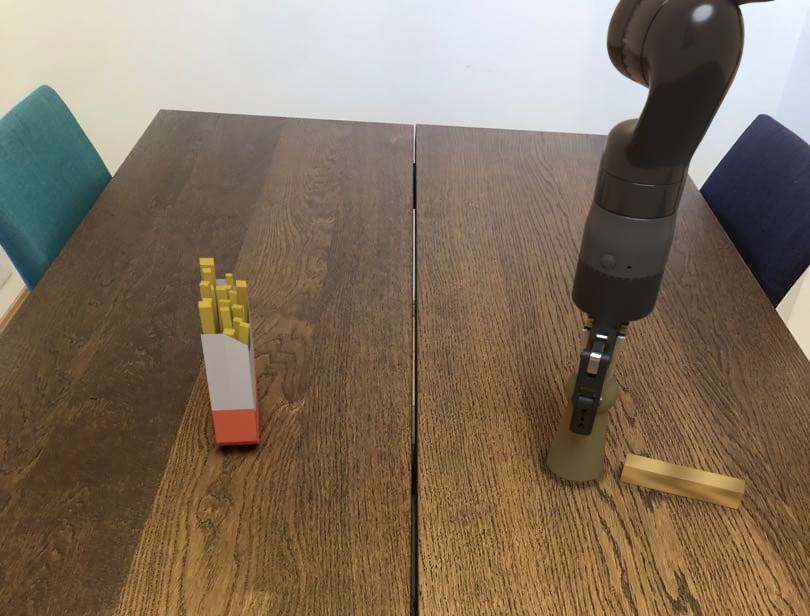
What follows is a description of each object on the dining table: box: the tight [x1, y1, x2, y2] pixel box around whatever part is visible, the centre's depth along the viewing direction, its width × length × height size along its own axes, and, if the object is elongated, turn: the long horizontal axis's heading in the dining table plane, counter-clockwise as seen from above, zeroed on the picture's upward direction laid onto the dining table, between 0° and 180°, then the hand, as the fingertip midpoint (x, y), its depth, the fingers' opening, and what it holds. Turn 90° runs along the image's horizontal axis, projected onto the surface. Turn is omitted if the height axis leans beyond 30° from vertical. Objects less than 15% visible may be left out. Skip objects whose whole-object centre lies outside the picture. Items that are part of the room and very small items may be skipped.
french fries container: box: [197, 257, 260, 447], centre depth 83 cm, size 5×11×18 cm, turn 8°
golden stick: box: [619, 452, 746, 510], centre depth 84 cm, size 12×2×2 cm, turn 71°
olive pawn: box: [546, 371, 620, 483], centre depth 84 cm, size 6×6×11 cm
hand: (586, 412), depth 83 cm, fingers open, 6 cm apart
